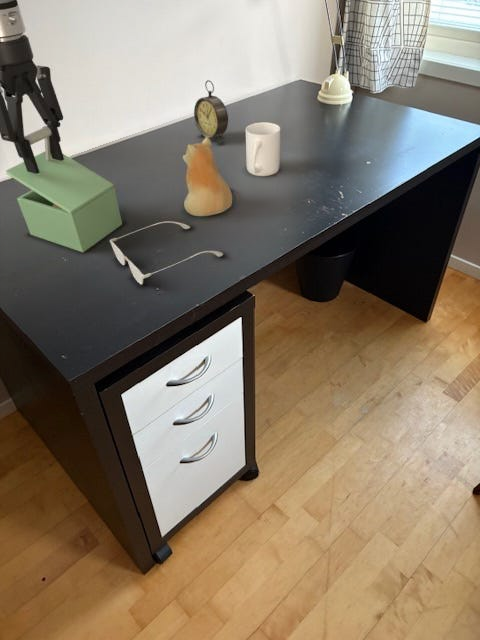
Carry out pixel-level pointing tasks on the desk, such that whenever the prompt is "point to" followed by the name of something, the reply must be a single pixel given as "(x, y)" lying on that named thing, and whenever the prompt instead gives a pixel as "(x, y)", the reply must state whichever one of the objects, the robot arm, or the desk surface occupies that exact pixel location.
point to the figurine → (204, 182)
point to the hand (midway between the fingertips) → (46, 165)
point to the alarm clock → (211, 116)
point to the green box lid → (60, 177)
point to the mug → (263, 148)
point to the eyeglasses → (134, 269)
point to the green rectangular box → (71, 220)
